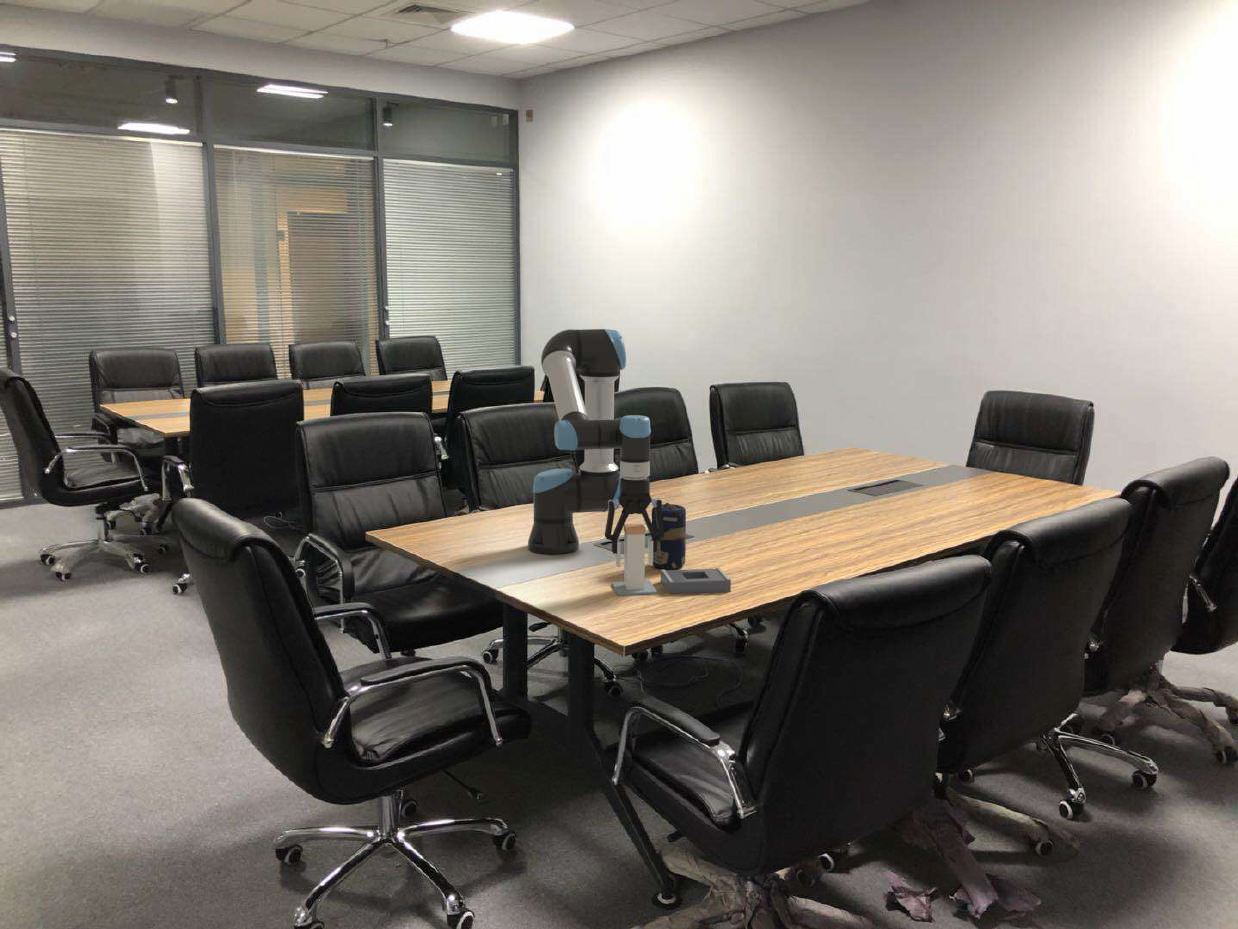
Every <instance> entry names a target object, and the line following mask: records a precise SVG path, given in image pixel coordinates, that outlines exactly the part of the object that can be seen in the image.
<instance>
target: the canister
mask: <svg viewBox="0 0 1238 929" xmlns="http://www.w3.org/2000/svg"><path fill="white" fill-rule="evenodd" d="M661 515H662V522H663V528H664V537H663V538H659V539H658V540H657V552H653V566H654V567H656V568H659V569H665V570H666V569H667V570H668V569H671V570H673V569H678V568H681V567H683V566H684V565H685V564H686V556H687V555H686V553H687V552H686V550H687V549H686V548H687V546H686V544H687V539H686V538H687V534H686V532H687V531H686V530H687V529H686V528H687V527H686V526H687V510H686V508H685V507H684V506H682V505H680V504H674V503H673V504H672V503H669V502H666V503H662V505H661ZM651 523H652V526H653V528H654V530H655V533H658V530H657V523H656V516H655V509H654V507H653V506H652V509H651Z"/></svg>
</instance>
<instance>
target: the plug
mask: <svg viewBox="0 0 1238 929" xmlns="http://www.w3.org/2000/svg"><path fill="white" fill-rule="evenodd" d="M623 532H624V534H623V535H624V540H623V541H624V543H623V544H624V549H623V550H624V553H623V554H624V558H623V559H624V563H623V567H624V568H623V569H624V570H623V574H624V576H623V578H624V579H623V582H624V585H625V587H626V589H627V590H634V589H644V581H645V576H646V575H645V571H646V570H645V566H646V564H645V563H646V562H645V557H646V556H645V555H646V554H645V553H646V545H645V544H646V534H647V533H646V526H645V525H644V524H643V523H625V524H624V526H623Z"/></svg>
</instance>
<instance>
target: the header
mask: <svg viewBox="0 0 1238 929" xmlns="http://www.w3.org/2000/svg"><path fill="white" fill-rule="evenodd" d="M660 583H661V584H662V586H663V587H664V589H665V591H667V593H668V594H669V595H676V594H677V595H678V594H682V595H683V594H701V593H702V594H705V593H707V594H708V593H724V592H725V593H726V592H729V593H730V592H732V591H731V590H732V589H731V588H732V587H731V586H732V584H731V583H732V580H731V578H730V577H729V576H728V575H727V574H726V573H725V572H724V571H723V570H722V569H721V567H718V566H717V567H716V568H698V569H697V568H696V569H693V568H692V569H691V568H690V569H671V570H668V569H667V570H666V569H665V568H661V570H660Z"/></svg>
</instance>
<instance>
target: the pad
mask: <svg viewBox="0 0 1238 929" xmlns="http://www.w3.org/2000/svg"><path fill="white" fill-rule="evenodd" d="M611 585H612V587H613V589H614V591H615V593H616V595H617V596H640V595H641V596H643V595H645V596H646V595H657V594H658V592H657V589H656V588H655V586H654V584H653V583H652V581H651V580H650V579H649V580H644V589H634V590H627V589H626V587H625V585H624V581H612V582H611Z"/></svg>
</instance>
